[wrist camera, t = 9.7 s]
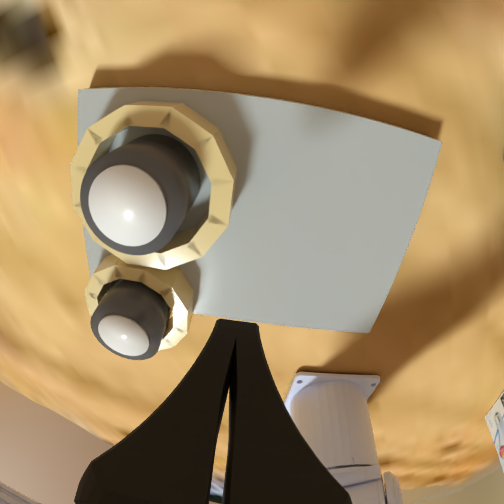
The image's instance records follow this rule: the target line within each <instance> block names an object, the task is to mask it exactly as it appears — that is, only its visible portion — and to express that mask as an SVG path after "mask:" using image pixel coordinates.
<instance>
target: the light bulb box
mask: <svg viewBox="0 0 504 504" xmlns="http://www.w3.org/2000/svg"><path fill="white" fill-rule="evenodd" d="M485 419H486V422H487V425H488V427H489V430H490V433H491V435H492V438H493V441H494V444H495V447H496V450H497V453H498V456H499V459H500V462H501V466H502V469H503V472H504V391H503V393H502V394H501V395H500V397H499V398H498V400H497V401H496V403H495V404H494V405H493V407H492V408H491V409H490V411H489V412H488V413H487V415H486V416H485Z"/></svg>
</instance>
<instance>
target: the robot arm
mask: <svg viewBox="0 0 504 504" xmlns="http://www.w3.org/2000/svg"><path fill="white" fill-rule="evenodd" d="M380 381H381V379H380V376H378V375H351V374H329V373H313V372H298V373H296V374H295V377H294V379H293V382H292V384H291V387H290V389H289V392H288V394H287V397H286V399H285V401H284V403H283V401H282V398H281V396H280V394H279V392H278V390H277V387H276V385H275V383H274V380H273V378H272V375H271V372H270V369H269V366H268V364H267V361H266V358H265V354H264V351H263V347H262V343H261V339H260V333H259V326H258V325H257V324H256V323H249V322H241V321H233V320H226V319H219V320H217V321H216V324H215V327H214V329H213V331H212V333H211V335H210V337H209V339H208V341H207V343H206V345H205V347H204V348H203V350H202V351H201V353H200V355H199V356H198V358H197V359H196V361H195V363H194V364H193V365H192V367H191V368H190V370H189V371H188V372H187V374H186V375H185V376H184V378H183V379H182V380H181V382H180V383H179V384H178V386H177V387H176V388H175V389H174V390H173V392H172V393H171V394H170V395H169V396H168V397H167V398H166V400H165V401H164V402H163V403H162V404H161V405H160V406H159V407H158V408H157V409H156V410H155V411H154V412H153V413H152V414H151V415H150V416H149V417H148V418H147V419H146V420H145V421H144V422H143V423H142V424H140V425H139V426H138V427H137V428H136V429H135V430H133V431H132V432H131V433H130V434H129V435H127V436H126V437H125V438H124V439H122V440H121V441H120V442H119V443H117V444H116V445H115V446H113V447H112V448H110V449H109V450H107V451H106V452H104V453H103V454H101V455H100V456H99V457H97V458H96V459H94V460H93V461H91V463H90V464H89V466H88V467H87V469H86V471H85V472H84V474H83V476H82V478H81V480H80V482H79V485H78V489H77V492H76V496H75V500H74V502H75V503H76V504H209V497H210V489H211V480H212V472H213V464H214V456H215V449H216V443H217V438H218V433H219V429H220V425H221V420H222V416H223V412H224V407H225V403H226V399H227V394H228V390H229V442H228V455H227V464H226V472H225V481H224V490H223V499H222V504H403V502H402V497H401V491H400V485H399V481H398V477H397V476H396V475H394V474H392V473H391V472H390V471H388V472H385V473H383V474H384V480H385V484H384V485H383V479H382V474H381V469H380V465H379V463H378V457H377V452H376V446H375V441H374V435H373V430H372V425H371V420H370V415H369V410H368V405H367V400H368V398H369V397H370V396H371V394H372V393H373V391H374V390H375V388H376V387H377V385H378V384H379V382H380ZM384 486H385V492H384ZM385 493H386V496H385ZM0 504H41V503H38V502H36V501H34V500H32V499H30V498H29V497H27V496H25V495H23V494H21V493H19V492H17V491H16V490H14V489H12V488H10V487H9V486H7V485H5V484H3V483H2V482H0Z"/></svg>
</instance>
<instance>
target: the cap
mask: <svg viewBox="0 0 504 504" xmlns="http://www.w3.org/2000/svg"><path fill="white" fill-rule="evenodd" d="M199 187H200V175H199V170H198V167H197V164H196V162H195V160H194V158H193V156H192V155H191V153H190V152H189V151H188V150H187V148H186V147H185V146H183V145H182V144H181V143H180V142H178V141H177V140H175V139H173V138H171V137H168V136H165V135H160V134H149V135H144V136H141V137H138V138H136V139H134V140H132V141H130V142H128V143H126V144H124V145H122V146H120V147H118V148H116V149H114V150H112V151H111V152H109V153H107V154H105V155H103V156H102V157H100V158H98V159H97V160H96V161H95V162H94V163H92V165H91V166H90V167H89V168H88V170H87V172H86V173H85V175H84V178H83V180H82V184H81V189H80V202H81V208H82V212H83V215H84V218H85V220H86V222H87V224H88V226H89V227H90V229H91V230H92V232H93V233H94V234H95V235H96V236H97V237H98V238H99V239H100V240H101V241H102V242H103V243H104V244H106V245H107V246H109V247H110V248H112V249H114V250H116V251H118V252H121V253H124V254H129V255H147V254H151V253H154V252H156V251H158V250H160V249H162V248H163V247H164V246H165V245H167V244H168V243H169V242H170V240H171V239H172V238H173V236H174V235H175V233H176V231H177V230H178V228H179V226H180V225H181V223H182V221H183V220H184V218H185V216H186V215H187V213H188V212H189V210H190V208H191V207H192V205H193V203H194V202H195V200H196V198H197V195H198V192H199Z"/></svg>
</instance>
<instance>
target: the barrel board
mask: <svg viewBox="0 0 504 504" xmlns="http://www.w3.org/2000/svg"><path fill="white" fill-rule="evenodd" d="M149 134H160V135H165V136H168V137H171V138H173V139H175V140H177V141H178V142H180V143H181V144H182V145H183V146H185V147H186V148H187V150H188V151H189V152H190V153H191V155H192V156H193V158H194V160H195V162H196V164H197V167H198V170H199V175H200V187H199V192H198V195H197V198H196V200H195V202H194V203H193V205H192V207H191V208H190V210H189V212H188V213H187V215H186V216H185V218H184V220H183V221H182V223H181V225H180V226H179V228H178V230H177V231H176V233H175V235H174V236H173V238H172V239H171V240H170V242H169V243H168V244H167V245H165V246H164V247H163V248H162V249H160V250H158V251H156V252H154V253H151V254H147V255H129V254H124V253H121V252H118V251H116V250H114V249H112V248H110V247H109V246H107V245H106V244H104V243H103V242H102V241H101V240H100V239H99V238H98V237H97V236H96V235H95V234H94V233H93V232H92V230H91V229H90V227H89V226H88V224H87V222H86V220H85V218H84V215H83V212H82V208H81V202H80V189H81V184H82V180H83V178H84V175H85V173H86V172H87V170H88V168H89V167H90V166H91V165H92V163H94V162H95V161H96V160H97V159H98V158H100V157H102V156H103V155H105V154H107V153H109V152H111V151H112V150H114V149H116V148H118V147H120V146H122V145H124V144H126V143H128V142H130V141H132V140H134V139H136V138H138V137H141V136H144V135H149ZM441 144H442V142H441V141H439V140H437V139H435V138H433V137H430V136H427V135H424V134H421V133H418V132H415V131H412V130H409V129H405V128H402V127H399V126H396V125H392V124H389V123H385V122H382V121H378V120H374V119H371V118H367V117H363V116H359V115H355V114H351V113H347V112H343V111H339V110H334V109H330V108H325V107H320V106H315V105H310V104H305V103H300V102H294V101H289V100H283V99H277V98H270V97H264V96H257V95H249V94H241V93H233V92H223V91H213V90H201V89H187V88H167V87H96V88H85V89H79V91H78V149H77V151H76V153H75V155H74V158H73V160H72V162H71V164H70V174H71V188H72V199H73V207H74V208H75V210H76V212H77V214H78V215H79V217H80V219H81V220H82V222H83V227H84V236H85V243H86V251H87V257H88V264H89V270H90V276H91V279H90V281H89V283H88V285H87V287H86V290H85V291H84V292H85V297H86V302H87V306H88V310H89V314H90V315H91V316H92V317H91V328H92V331H93V333H94V335H95V337H96V338H97V339H98V341H99V342H100V343H101V344H102V345H103V346H104V347H105V348H107V349H108V350H110V351H111V352H113V353H115V354H116V355H119V356H121V357H124V358H127V359H132V360H144V359H148V358H151V357H152V356H154V355H155V354H156V353H157V352H158V350H162V349H167V348H172V347H174V346H175V345H176V344H177V343H178V342H179V341H180V340H181V339H182V338H183V337H184V336H185V335H186V334H187V333H188V329H189V325H190V322H191V318H192V315H193V313H195V314H202V315H208V316H215V317H222V318H229V319H236V320H243V321H251V322H258V323H266V324H275V325H283V326H292V327H301V328H311V329H321V330H332V331H343V332H356V333H370V331H371V329H372V327H373V325H374V323H375V321H376V319H377V317H378V315H379V312H380V310H381V308H382V306H383V304H384V302H385V300H386V297H387V295H388V293H389V291H390V288H391V286H392V284H393V282H394V279H395V277H396V275H397V272H398V270H399V267H400V265H401V263H402V260H403V258H404V255H405V253H406V250H407V248H408V245H409V242H410V240H411V237H412V235H413V232H414V229H415V226H416V224H417V221H418V218H419V215H420V212H421V210H422V207H423V204H424V201H425V198H426V195H427V192H428V188H429V185H430V182H431V179H432V176H433V172H434V169H435V166H436V162H437V159H438V155H439V151H440V148H441ZM172 311H173V316H172V317H171V319H169V318H170V315H171V312H172Z"/></svg>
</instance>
